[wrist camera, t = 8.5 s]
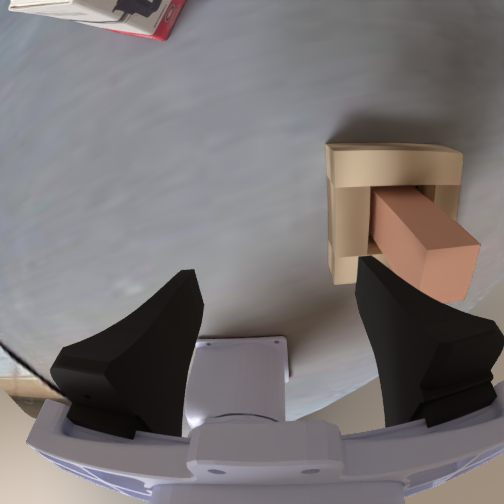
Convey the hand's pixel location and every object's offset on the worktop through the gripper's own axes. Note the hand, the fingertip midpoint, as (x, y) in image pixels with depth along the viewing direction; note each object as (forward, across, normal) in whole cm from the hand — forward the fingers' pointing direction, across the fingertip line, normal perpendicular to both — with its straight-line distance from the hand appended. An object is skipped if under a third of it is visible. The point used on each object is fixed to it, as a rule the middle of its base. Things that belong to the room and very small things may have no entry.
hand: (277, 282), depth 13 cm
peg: (+10, -9, +1) cm, 14 cm away
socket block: (+10, -9, +1) cm, 14 cm away
